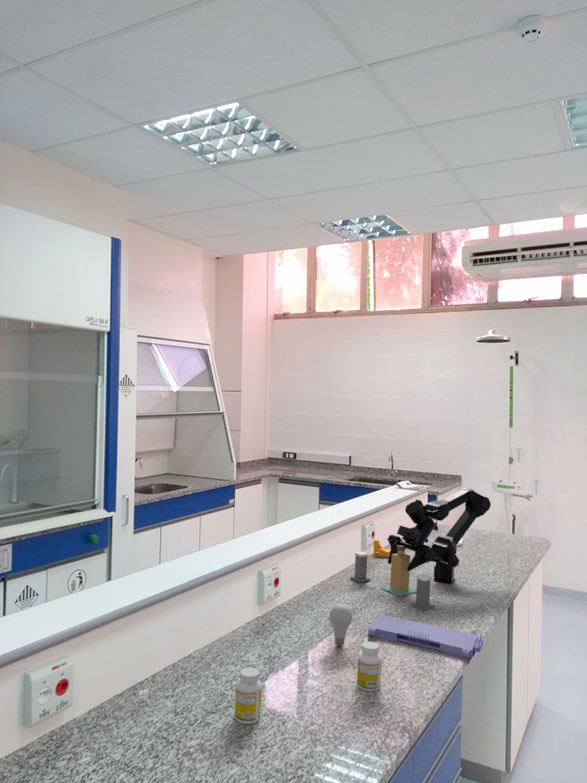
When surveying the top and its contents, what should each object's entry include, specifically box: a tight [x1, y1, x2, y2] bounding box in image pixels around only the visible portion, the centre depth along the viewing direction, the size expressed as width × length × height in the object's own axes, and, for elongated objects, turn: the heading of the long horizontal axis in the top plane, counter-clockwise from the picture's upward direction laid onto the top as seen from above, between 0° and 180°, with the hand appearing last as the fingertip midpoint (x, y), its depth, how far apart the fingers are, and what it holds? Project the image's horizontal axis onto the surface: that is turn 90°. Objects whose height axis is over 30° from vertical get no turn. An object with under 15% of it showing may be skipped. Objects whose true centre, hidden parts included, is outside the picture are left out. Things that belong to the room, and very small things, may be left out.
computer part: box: [367, 612, 484, 660], centre depth 168 cm, size 30×4×15 cm
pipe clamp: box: [373, 538, 391, 558], centre depth 252 cm, size 12×4×6 cm, turn 85°
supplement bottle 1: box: [234, 667, 263, 725], centre depth 124 cm, size 5×5×10 cm
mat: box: [380, 585, 417, 597], centre depth 209 cm, size 9×9×1 cm
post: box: [410, 573, 435, 611], centre depth 194 cm, size 5×5×10 cm
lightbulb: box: [328, 604, 353, 647], centre depth 161 cm, size 6×6×11 cm
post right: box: [350, 551, 371, 584], centre depth 218 cm, size 5×5×10 cm
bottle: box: [389, 545, 411, 592], centre depth 209 cm, size 4×4×15 cm
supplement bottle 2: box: [356, 641, 382, 692], centre depth 140 cm, size 5×5×10 cm
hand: (398, 566), depth 208 cm, fingers open, 9 cm apart
